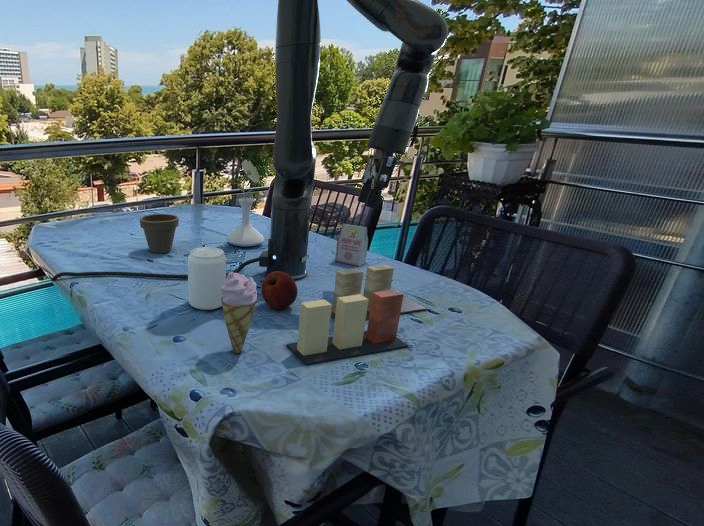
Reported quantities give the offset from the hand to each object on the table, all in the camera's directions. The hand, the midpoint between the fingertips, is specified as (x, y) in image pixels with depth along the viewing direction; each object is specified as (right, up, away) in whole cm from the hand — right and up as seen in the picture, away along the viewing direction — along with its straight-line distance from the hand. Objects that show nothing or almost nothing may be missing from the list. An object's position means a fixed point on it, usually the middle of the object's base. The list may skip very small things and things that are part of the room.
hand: (366, 204), depth 101 cm
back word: (0, -23, -4) cm, 23 cm away
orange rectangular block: (-4, -28, -16) cm, 32 cm away
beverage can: (-35, -22, +1) cm, 41 cm away
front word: (-11, -29, -18) cm, 36 cm away
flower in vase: (-20, -4, +43) cm, 48 cm away
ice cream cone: (-30, -30, -18) cm, 46 cm away
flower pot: (-46, -6, +40) cm, 61 cm away
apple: (-19, -22, -1) cm, 30 cm away
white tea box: (+6, -11, +25) cm, 28 cm away
